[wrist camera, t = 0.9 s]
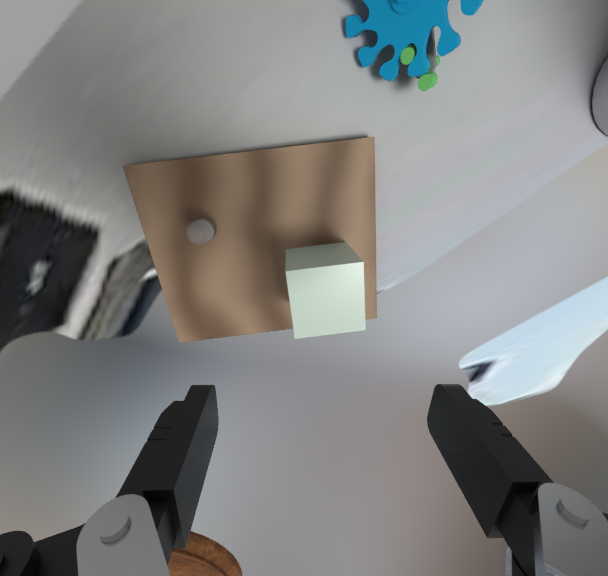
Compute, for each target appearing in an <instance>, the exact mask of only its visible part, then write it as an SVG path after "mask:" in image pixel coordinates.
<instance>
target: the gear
mask: <svg viewBox="0 0 608 576" xmlns="http://www.w3.org/2000/svg"><path fill="white" fill-rule="evenodd" d="M448 1H449V0H363V2H364V3H365V4H366V5H367V7H368V9H369V17H368V19H367V21H366V22H364V21H363V19H362V18H361V17H360V16H359V15H350V16H348V17H347V18H346V36H347V37H349V38H351V37H356V36H358V35H359V34H360V33H361V32H363V31H364V30H373V31H375V32H376V33H377V35H378V41H377V44H376V45H375V46H366V47H362V48H361V49H360V50H359V51H358V57H359V60H360V62H361V64H362V66H363V67H367V66H370V65H372V64H373V63H374V61H375V59H376V57H377V55H378V54H379V52H380V51H381V50H382V49H383V48H385V47H386V46H388V45H390V44H391V45H393V47H394V49H395V54H394V57H393V58H392V59H391V60H390V61H388V62H386V63H384V64H383V65H382V66H381V68H380V72H379V74H380V75H381V76H382V77H383V78H384V79H386V80H388V81H392V80H394V79H395V78H396V77H397V75H398V72H399V65H400V61H401V62H402V63H403V64H405V65H407V64H409V66H408V76H412V77H416V78H418V79H419V81H418V87H419V89H420V90H422V91H426V90H428V89H429V88H431V87H433V86H434V85H435V84H436V82H437V74H436V73H435V72H434V70H435V68H436V66H437V65H438V64H439V62H440V58H439V56H436V50H435V40H434V29H433V27H435V26H438V27H439V28H440V30H441V36H440V39H439V42H438V46H437V52H438V54H439V55H440V56H444V55H446V54H448V53H450V52H452V51H453V50H454V49H455V48H456V47H458V46H459V45H460V42H461V39H460V36H459V34H458V33H456V32H455V31H454V30H453V29H452V27H451V26H450V23H449V20H448V13H447V5H448ZM482 2H483V0H461V10H462V12H463V13H464V14H465V15H474V13H475V12H476V11H477V10H478V9H479V7H480V6H481V4H482ZM410 45H411V46H410ZM409 46H410V47H409Z"/></svg>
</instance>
